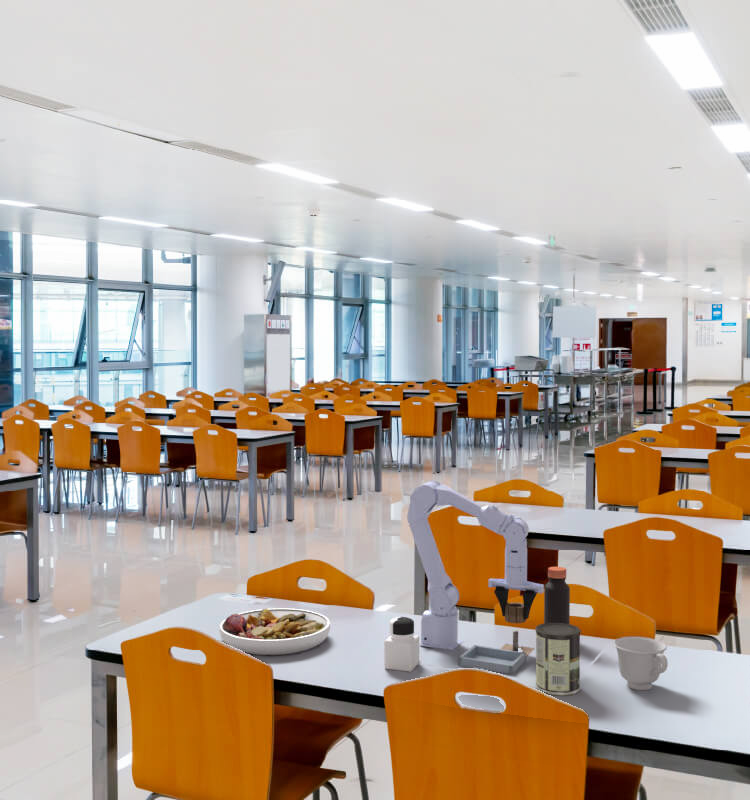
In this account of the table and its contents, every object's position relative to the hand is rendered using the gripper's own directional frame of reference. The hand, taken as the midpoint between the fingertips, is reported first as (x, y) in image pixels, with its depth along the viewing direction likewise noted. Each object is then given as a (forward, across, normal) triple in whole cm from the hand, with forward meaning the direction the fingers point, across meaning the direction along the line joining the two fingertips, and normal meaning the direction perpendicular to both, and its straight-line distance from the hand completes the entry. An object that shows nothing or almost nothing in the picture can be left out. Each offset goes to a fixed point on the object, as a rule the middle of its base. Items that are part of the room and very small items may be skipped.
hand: (515, 616), depth 239 cm
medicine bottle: (+10, +22, +23) cm, 33 cm away
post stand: (+9, 0, 0) cm, 9 cm away
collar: (+1, 0, 0) cm, 1 cm away
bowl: (+10, +62, +20) cm, 66 cm away
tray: (+9, +2, +12) cm, 15 cm away
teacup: (+10, -35, +11) cm, 38 cm away
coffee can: (+10, -17, +20) cm, 28 cm away
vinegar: (+10, -7, -14) cm, 18 cm away
